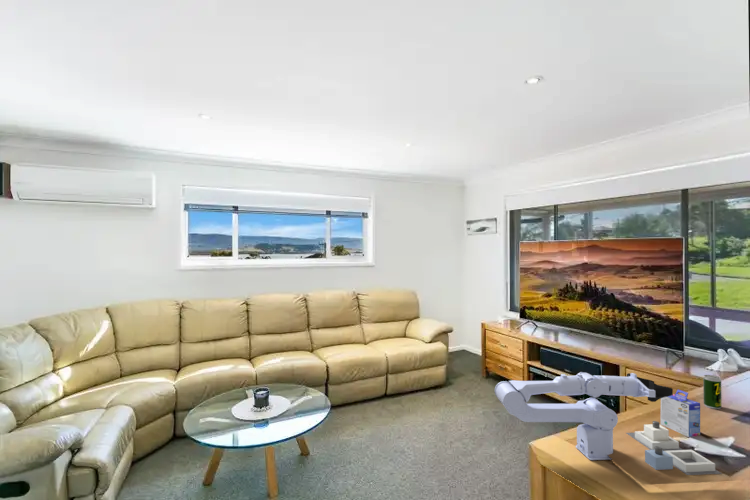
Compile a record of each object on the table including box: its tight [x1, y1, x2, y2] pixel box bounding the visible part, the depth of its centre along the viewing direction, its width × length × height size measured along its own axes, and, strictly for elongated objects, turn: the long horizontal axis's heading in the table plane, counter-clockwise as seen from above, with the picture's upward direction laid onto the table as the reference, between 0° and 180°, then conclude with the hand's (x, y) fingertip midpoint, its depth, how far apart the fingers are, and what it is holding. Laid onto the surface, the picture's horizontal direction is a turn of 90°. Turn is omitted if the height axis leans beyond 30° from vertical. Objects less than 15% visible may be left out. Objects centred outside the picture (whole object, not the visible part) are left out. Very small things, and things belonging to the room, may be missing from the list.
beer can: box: [702, 374, 723, 410], centre depth 152 cm, size 5×5×12 cm
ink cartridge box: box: [660, 389, 701, 438], centre depth 130 cm, size 10×6×14 cm, turn 15°
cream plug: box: [643, 420, 670, 441], centre depth 121 cm, size 5×4×7 cm
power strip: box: [625, 430, 723, 476], centre depth 116 cm, size 10×24×4 cm, turn 3°
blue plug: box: [644, 446, 674, 471], centre depth 109 cm, size 5×4×7 cm
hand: (662, 387), depth 118 cm, fingers open, 7 cm apart
